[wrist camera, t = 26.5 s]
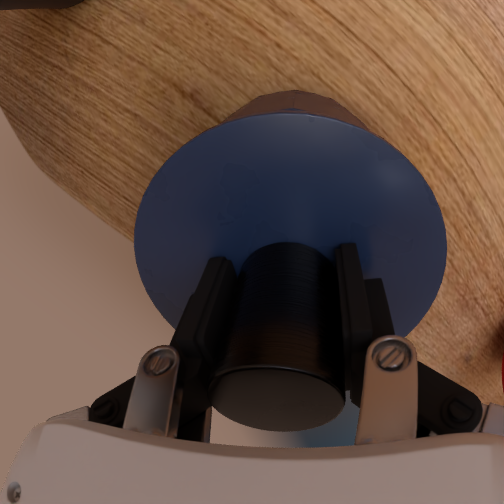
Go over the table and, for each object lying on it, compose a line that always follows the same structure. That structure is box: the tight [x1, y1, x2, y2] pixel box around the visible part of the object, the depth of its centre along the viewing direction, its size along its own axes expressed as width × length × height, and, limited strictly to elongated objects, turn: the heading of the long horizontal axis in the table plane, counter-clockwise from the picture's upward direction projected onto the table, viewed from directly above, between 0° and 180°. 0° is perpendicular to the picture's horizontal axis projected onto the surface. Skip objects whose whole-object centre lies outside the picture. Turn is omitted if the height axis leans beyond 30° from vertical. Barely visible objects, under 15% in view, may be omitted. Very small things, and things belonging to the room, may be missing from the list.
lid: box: [134, 110, 447, 432], centre depth 10 cm, size 12×12×6 cm
